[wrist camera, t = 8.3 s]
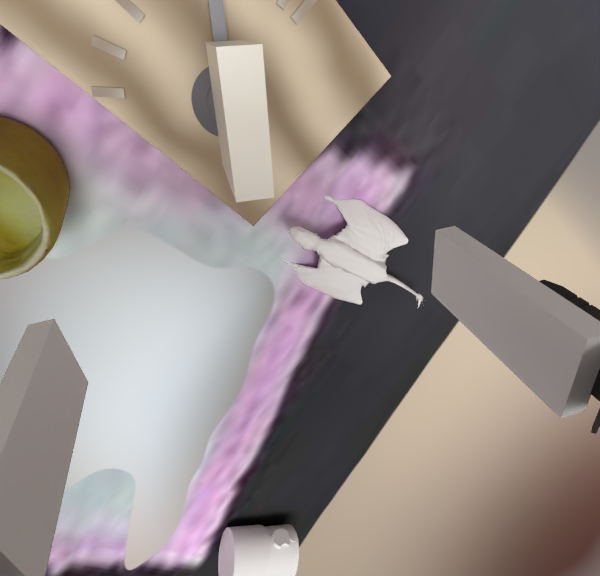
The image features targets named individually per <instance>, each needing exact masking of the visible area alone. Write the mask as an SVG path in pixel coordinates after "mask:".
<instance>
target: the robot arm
mask: <svg viewBox="0 0 600 576" xmlns="http://www.w3.org/2000/svg"><path fill="white" fill-rule="evenodd" d="M431 293H432V294H433V295H434V296H435V297H436V298H437V299H438V300H439V301H440V302H441V303H442V304H443V305H444V306H445V307H446V308H447V309H448V310H449V311H450V312H451V313H452V314H453V315H454V316H455V317H456V318H457V319H458V320H459V321H461V322H462V323H463V324H464V325H465V326H466V327H467V328H468V329H469V330H470V331H471V332H472V333H473V334H474V335H475V336H476V337H477V338H478V339H479V340H480V341H481V342H482V343H483V344H484V345H485V346H486V347H487V348H488V349H489V350H491V351H492V352H493V353H494V354H495V355H496V356H497V357H498V358H499V359H500V360H501V361H502V362H503V363H504V364H505V365H506V366H507V367H508V368H509V369H510V370H511V371H512V372H513V373H514V374H515V375H516V376H517V377H518V378H519V379H520V380H522V382H524V383H525V384H526V385H527V386H528V387H529V388H530V389H531V390H532V391H533V392H534V393H535V394H536V395H537V396H538V397H539V398H540V399H541V400H542V401H543V402H544V403H545V404H546V405H547V406H548V407H549V408H550V409H551V410H553V411H554V412H555V413H556V414H557V415H558V416H559V417H560V418H564V417H567V416H570V415H573V414H576V413H579V412H582V411H585V409H586V407H587V404H588V401H589V399H590V396H591V394H592V395H593V396H594V397H595V398H597V399H598V400H599V401H600V310H599V309H598V308H596V307H594V306H593V305H589V303H588V302H586V301H585V300H583V299H582V298H578V297H577V295H575V294H574V293H572V292H571V291H569V290H567V289H566V288H564V287H563V286H560V285H557V284H554V283H552V282H549V281H546V280H541V281H538V280H536V279H534V278H533V277H531V276H530V275H529V274H527V273H526V272H524V271H522V270H521V269H519V268H518V267H516V266H515V265H513V264H512V263H510V262H509V261H507V260H506V259H504V258H503V257H501V256H500V255H498V254H497V253H495V252H494V251H492V250H491V249H489V248H488V247H486V246H484V245H483V244H481V243H480V242H478V241H477V240H475V239H474V238H472V237H471V236H469V235H468V234H466V233H465V232H463V231H462V230H460V229H459V228H457V227H456V226H452V227H447V228H443V229H439V230H436V233H435V247H434V261H433V275H432V289H431ZM87 385H88V381H87V379H86V377H85V375H84V373H83V372H82V370H81V368H80V366H79V364H78V362H77V361H76V359H75V357H74V355H73V353H72V351H71V349H70V347H69V345H68V343H67V342H66V340H65V338H64V336H63V334H62V332H61V331H60V329H59V327H58V325H57V323H56V321H55V319H52V320H48V321H43V322H39V323H35V324H30V325H28V326H27V328H26V331H25V333H24V335H23V337H22V339H21V341H20V343H19V345H18V347H17V350H16V352H15V354H14V356H13V358H12V360H11V362H10V364H9V366H8V369H7V371H6V373H5V375H4V377H3V379H2V381H1V383H0V576H45V574H46V570H47V565H48V561H49V556H50V552H51V547H52V543H53V538H54V534H55V529H56V525H57V520H58V516H59V511H60V507H61V502H62V498H63V493H64V489H65V484H66V479H67V475H68V471H69V466H70V461H71V457H72V453H73V448H74V444H75V439H76V434H77V430H78V426H79V421H80V417H81V412H82V407H83V402H84V399H85V394H86V390H87ZM599 427H600V409H599V411H598V414H597V416H596V419H595V421H594V424H593V426H592V431H591V432H592V433H597V430H598V428H599Z"/></svg>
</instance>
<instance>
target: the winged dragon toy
mask: <svg viewBox="0 0 600 576" xmlns="http://www.w3.org/2000/svg"><path fill="white" fill-rule="evenodd" d="M325 199H326V200H328V201H331V202H334V203H335V205H336V206H337V208H338V209H339V211H340V212H341V214H342V215H343V217H344V219H345V220H346V222H347V226H345V228H344V229H342V231H341V232H338V233H339V234H338V233H336V234H338V235H333V236H332V237H330V238H328V239H327V240H326V238H325V239H321V237H320V236H317V233H315V234H314V233H313V232H311V231H309V230H307V229H304V228H302V227H299V226H295V227H292V228H290V230H289V234H290V236H291V237H292V239H293V240H294V241H295V242H296V243H298V244H299V245H301V246H302V248H303V249H306V250H308V249H309V251H310V250H311V249H313V250H314V252H315V251H316V250H317V253H318V254H319V255H318V257H319V256H320V258H319V259H320V260H319V261H320V262H319V263H320V264H317V265H318V268H313V267H308V266H303V265H299V264H295V263H292V262H291V261H290V260H288V259H285V260H284V262H285V263H287V264H290V265H291V266H293V267H294V269H295V271H296V273H297V275H298V277H299V279H300V280H301V281H302V283H304V284H305V285H307V286H309V287H312V288H314V289H316V290H318V291H320V292H322V293H324V294H326V295H329V296H331V297H333V298H336V299H340V300H344V301H348V302H352V303H355V304H359V305H360V304H362V298H361V287H362V285H363V286H364V287H365V285H366V284H368V283H369V282H370V283H372V284H376V283H378V282H382V281H383V282H384V281H390V282H393V283H395V284H397V285H399V286H401V287H403V288H405V289H406V290H408V291H410V292H411V293H413V294H414V295H416V302H417V299H419V302H418V307H419V306H420V303H421V301H423V299H424V298H423V297H422V296H421V294H417V293H416V292H415V291H414V290H411V289H410V288H409V287H408V286H406V285H405V284H404V283H403V282H401V281H399V280H398V279H397V278H395V277H394V276H390V275H387V273H386V268H387V267H386V265H384V264H385V263H384V262H386V261H385V260H386V258H387V257H388V256H389V255H388V254H386V253H387V252H388V251H389V250H391V249H393V248H396V247H398V246H401V245H405V244H407V243H408V239H407V237H406V236H405V235H404V233H403V232H402V231H401V229H400V228H399V227H398V226H397V225H396V224H395V223H394V222H393V221H392V220H391V219H389V218H388V217H386V216H385V215H383V214H382V213H380V212H378V211H376V210H375V209H373V208H372V207H370V206H369V205H367V204H366V203H365V202H363V201H362V200H359V199H344V200H334V199H333V198H332V197H330V196H328V195H327V196H326V197H325ZM319 237H320V238H319ZM405 237H406V238H405ZM317 260H318V259H317ZM366 286H367V285H366ZM422 303H423V302H422ZM423 304H424V303H423Z"/></svg>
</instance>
